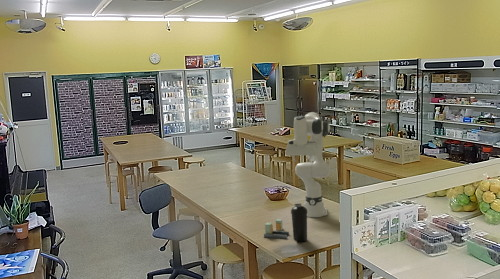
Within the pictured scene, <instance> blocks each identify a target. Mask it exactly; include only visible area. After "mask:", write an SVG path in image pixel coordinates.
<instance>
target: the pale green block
mask: <svg viewBox="0 0 500 279" xmlns="http://www.w3.org/2000/svg"><path fill="white" fill-rule="evenodd" d="M275 231H283V219H282V218H276V219H275Z"/></svg>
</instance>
